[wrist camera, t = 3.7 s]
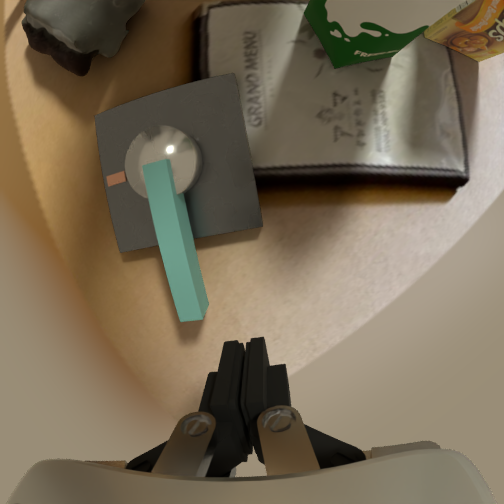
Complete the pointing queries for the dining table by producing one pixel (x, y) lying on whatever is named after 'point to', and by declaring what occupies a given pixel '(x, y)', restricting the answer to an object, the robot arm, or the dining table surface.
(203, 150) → the base
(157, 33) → the dining table surface
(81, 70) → the rock
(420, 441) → the robot arm
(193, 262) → the teal pivot lever
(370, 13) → the milk carton
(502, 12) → the candy box
